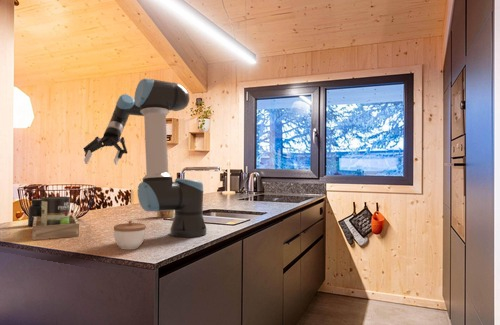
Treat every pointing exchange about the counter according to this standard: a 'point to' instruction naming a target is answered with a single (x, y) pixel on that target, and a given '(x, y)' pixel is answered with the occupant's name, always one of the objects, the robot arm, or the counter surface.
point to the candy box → (165, 213)
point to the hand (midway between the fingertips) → (100, 162)
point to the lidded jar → (129, 235)
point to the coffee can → (55, 210)
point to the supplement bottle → (34, 210)
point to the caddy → (55, 229)
